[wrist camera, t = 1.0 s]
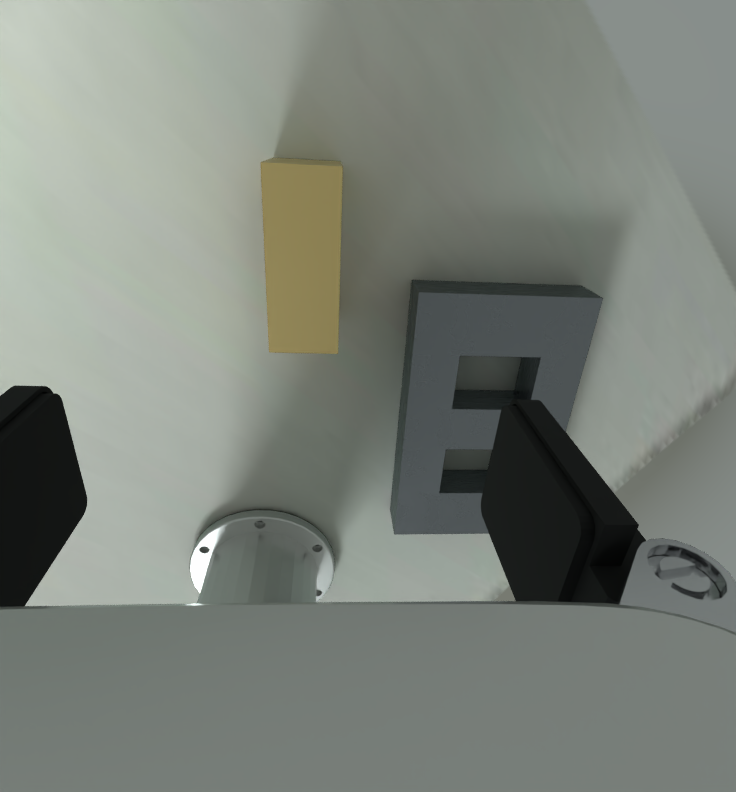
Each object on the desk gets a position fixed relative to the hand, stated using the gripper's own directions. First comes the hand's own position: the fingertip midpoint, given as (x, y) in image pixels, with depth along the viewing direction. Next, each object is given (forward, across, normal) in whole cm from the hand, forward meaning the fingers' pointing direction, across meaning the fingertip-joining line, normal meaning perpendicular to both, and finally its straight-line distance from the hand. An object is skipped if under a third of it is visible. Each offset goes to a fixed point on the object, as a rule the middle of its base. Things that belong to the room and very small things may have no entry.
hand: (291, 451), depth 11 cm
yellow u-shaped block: (+24, +1, 0) cm, 24 cm away
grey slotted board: (+24, -13, +12) cm, 29 cm away
